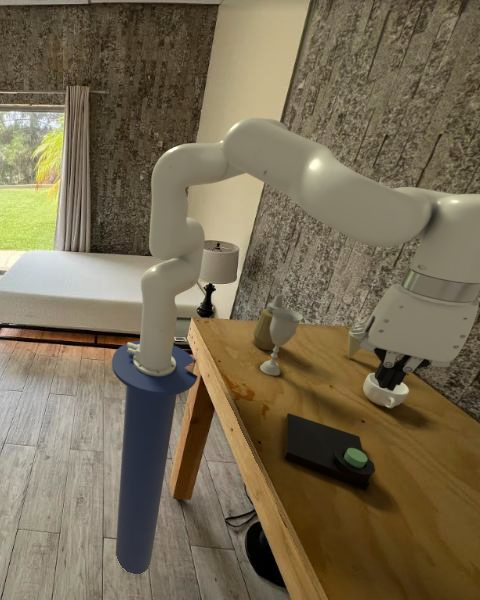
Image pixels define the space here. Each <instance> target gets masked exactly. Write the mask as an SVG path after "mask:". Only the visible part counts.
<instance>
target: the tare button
mask: <svg viewBox="0 0 480 600" xmlns="http://www.w3.org/2000/svg"><path fill="white" fill-rule="evenodd" d="M366 456H367V455H366V454H365V453H364V451H363V452H361V451H359V450H357V449H354V448H349V449H347V451H346V453H345V455H344V459H345V460H346V462H348V463H349V464H351V465H352V466H354V467H357V468H363V467H364V465H365V464H366V462H367V457H368V456H367V457H366Z"/></svg>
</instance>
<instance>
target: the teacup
mask: <svg viewBox="0 0 480 600" xmlns="http://www.w3.org/2000/svg"><path fill="white" fill-rule="evenodd" d="M362 390H363V394H364V395H365V397H366V398H367V399H368V400H369V401H370V402H372V403H374V404H376V405H378V406H381V407H386V408H387V409H393V408H394V407H397V406H399V405H400V404H402V403H403V402H404V401H405V399H406V398H407V397H408V395H409V393H410V389H409V387H408V386H407V385H406V384H405V383H404V382H403V381H402V383H401V384H400V385H396V387H395V388H394V390H393V391H391V390H388V389H387V388H380V387H379V384H378V381H377V379H375V372H371V373H369V374H368V375H367V376H366V378H365V380H364V382H363V386H362Z"/></svg>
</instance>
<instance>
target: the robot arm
mask: <svg viewBox="0 0 480 600" xmlns="http://www.w3.org/2000/svg"><path fill="white" fill-rule="evenodd" d="M245 174H247V175H249V176H251V177H253V178H255V179H257V180H258V181H261V182H263V183H264V184H266V185H268V186H270V187H272V188H274V189H276V190H277V191H279V192H281V193H283V194H285V196H288V197H289V198H290V199H291V200H292V201H293V203H294V204H296V205H298V206H299V207H300V208H301V209H302V210H303V211H304V212H306V213H307V214H308V215H310V216H311V217H312V218H314V219H315V220H317V221H319V222H320V223H321V224H324V225H325V226H327V227H329V228H331V229H333V230H334V231H336V232H338V233H340V234H342V235H344V236H345V237H347V238H349V239H351V240H353V241H354V242H357V243H360V244H362V245H364V246H369V247H372V248H381V249H382V248H393V247H398V246H401V245H404V244H405V243H407V242H409V241H411V240H412V239H419V240H420V243H419V245H418V247H417V249H416V251H415V254H414V255H413V257H412V259H411V262H410V264H409V266H408V267H407V269H406V272H405V274H404V276H403V278H402V280H401V281H400V283H392V284H391V285H390V287H389V288H388V289H387V290H386V291H385V292H384V294H383V295H382V297H381V298H380V300H379V301H378V303H377V304H376V306H375V308H374V309H373V311H372V313H371V314H370V315H369V319H368V321H367V323H366V325H365V328H364V333H366V334H365V335H364V336H363V337H362V338H361V339H360V340H359V345H360V347H361V348H360V349H363V350H366V351H368V352H370V353H374V354H375V356H376V357H377V358H378V359H379V361H380V363H379V365H378V367H377V368H376V371H375V372H374V373H375V379H377V381H378V384H379V387H380V388H387V389H388V390H391V391H393V390H394V388H395V387H396V385H400V384H401V383H402V382H403V381H404V379H405V378H406V376H407V374H408V373H409V374H411V373H413V372H414V371H415V370H418V369H422V368H425V367H429V366H430V367H432V368H434V367H435V368H446V369H447V368H449V367H450V366H451V362H452V361H454V360H455V359H456V357H458V355H459V353H460V352H461V350H462V349H463V347H464V345H465V344H466V341H467V339H468V337H469V335H470V333H471V331H472V328H473V326H474V324H475V321H476V317H477V312H478V311H479V305H480V303H479V301H478V299H479V297H480V193H457V194H456V193H450V192H443V191H437V190H433V189H427V188H421V187H415V186H400V187H396V188H395V187H394V188H392V187H390V186H387V185H385V184H383V183H380V182H379V181H376V180H374V179H371V178H369V177H366V176H365V175H363V174H361V173H358V172H356V171H355V170H353V169H351V168H349V167H347V166H346V165H345V164H343V163H342V162H340V161H339V160H338V159H337V157H335V154H334V152H333V151H332V150H331V149H330V148H329V147H328V146H326V145H324V144H322V143H319V142H317V141H315V140H312V139H309V138H307V137H304V136H303V135H300V134H297V133H295V132H292V131H290V130H289V129H288V127H287V126H286V125H285V124H284V123H283V122H281V121H280V120H277V119H273V118H264V117H248V118H244V119H241V120H239V121H238V122H236V123H235V124H233V125H232V126H231V127H230V128H229V129H228V130H227V132H226V133H225V135H224V137H223V139H222V140H221V141H217V142H215V143H213V142H211V143H209V142H207V143H205V142H204V143H203V142H192V143H183V144H179V145H177V146H174V147H172V148H169V149H168V150H166V151H165V152H164V153H163V154H162V155H161V156H160V157H159V159H158V160H157V161H156V162H155V165H154V167H153V169H152V174H151V182H150V183H151V185H150V186H151V208H150V209H151V210H150V221H149V240H148V247H149V248H148V249H149V252H150V254H151V256H152V257H153V258H154V259H156V260H158V261H163V262H159V263H157V264H155V265H152V266H150V267H149V268H148V269H146V270H145V271H144V273H143V274H142V276H141V279H140V291H141V297H142V298H141V299H142V306H141V307H142V308H141V325H140V336H139V337H140V338H139V341H140V344H138V345H136V344H133V343H131V342H130V341H128V342H127V343H126V344H127V348H128V351H127V352H129V353H133V354H134V357H133V363H134V366H135V367H136V368H137V369H138V370H139V371H141V372H142V373H144V374H147V375H151V376H166V375H169V374H171V373H172V372H173V371H174V370H175V367H176V361H175V359H174V358H173V357H172V350H173V345H174V342H175V334H176V327H177V319H178V307H177V304H176V300H175V299H176V297H177V296H178V295H180V294H182V293H184V292H186V291H189V290H191V289H192V288H193V287H195V285H196V284H197V283H198V281H199V279H200V277H201V270H202V265H203V264H202V263H203V255H204V249H205V241H206V237H205V236H206V235H205V231H204V228H203V226H202V224H201V223H200V222H199V220H197V219H195V218H193V217H188V212H189V211H188V210H189V200H188V199H189V198H188V195H187V191H186V188H188V187H193V186H202V185H208V184H215V183H220V182H223V181H226V180H229V179H231V178H235V177H237V176H241V175H245ZM398 354H401V356H400V358H399V359H398V360H396V358H397V355H398Z"/></svg>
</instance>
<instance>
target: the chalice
mask: <svg viewBox="0 0 480 600" xmlns="http://www.w3.org/2000/svg"><path fill="white" fill-rule="evenodd" d="M272 313H273V318H272V322H271V325H270V334H271V338H272V341H273V343H274V344H275V348H274V349H273V350H272V351H273V352H272V353H271V354H270V356H271V359H268V360H265V361H264V362H263V363H262V364H261V365H260V366H259V369H260V370H261V372H263V373H264V374H266V375H269V376H279V375H280V374H281V370H280V366H279V364H278V362H276V359H277V358H278V353H279V352H280V347H282V346H284V345H286V344H287V343H288V342H289V341H290V340H291V339H292V338H293V337H294V336H295V335H296V332H297V329H298V326H299V323H300V321H302V319H304V317H303V315H302V314H301V313H300V312H299V311H296V310H294V309H290V308H286V307H285V308H277V309H274V310H273V311H272Z"/></svg>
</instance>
